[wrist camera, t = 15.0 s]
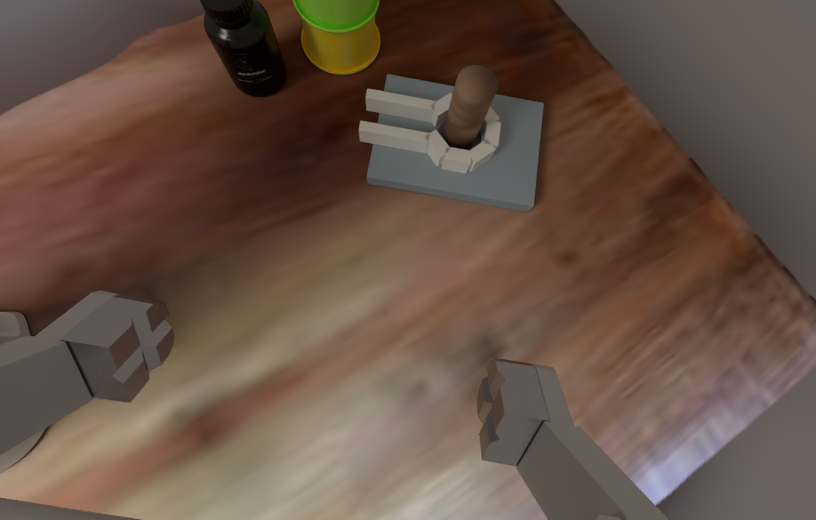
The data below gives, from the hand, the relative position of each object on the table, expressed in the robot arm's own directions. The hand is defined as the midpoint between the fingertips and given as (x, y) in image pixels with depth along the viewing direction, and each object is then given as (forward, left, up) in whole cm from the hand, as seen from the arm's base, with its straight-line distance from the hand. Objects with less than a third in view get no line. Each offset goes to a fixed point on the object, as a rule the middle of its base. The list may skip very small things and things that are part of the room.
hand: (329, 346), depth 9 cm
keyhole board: (+6, +25, -33) cm, 42 cm away
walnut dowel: (+6, +25, -31) cm, 41 cm away
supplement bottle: (-20, +30, -34) cm, 50 cm away
